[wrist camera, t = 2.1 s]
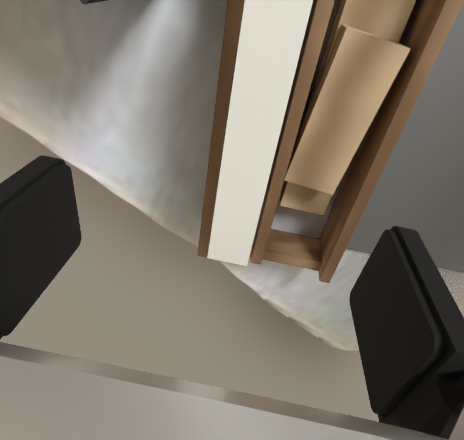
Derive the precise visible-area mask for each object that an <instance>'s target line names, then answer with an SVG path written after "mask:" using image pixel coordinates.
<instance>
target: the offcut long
mask: <svg viewBox="0 0 464 440" xmlns="http://www.w3.org/2000/svg"><path fill="white" fill-rule="evenodd" d="M415 2H416V0H341V3H340V6H339V9H338V12H337V16H336V19H335V22H334V25H333V28H332V31H331V35H330V38H329V41H328V44H327V47H326V51H325V54H324V57H323V60H322V63H321V66H320V70H319V73H318V76H317V79H316V82H315V85H314V89H313V92H312V95H311V98H310V101H309V105H310V103H311V100H312V98H313V95H314V93H315V90H316V88H317V85H318V83H319V80H320V78H321V75H322V73H323V70H324V68H325V65H326V63H327V60H328V58H329V55H330V53H331V50H332V48H333V45H334V43H335V40H336V38H337V36H338V33H339V31H340V28H341V26H342V24H343V25H346V26H349V27H352V28H355V29H358V30H361V31H365V32H368V33H371V34H374V35H377V36H380V37H383V38H386V39H389V40H392V41H395V42H399V39H400V37H401V35H402V32H403V30H404V28H405V25H406V23H407V21H408V18H409V16H410V14H411V11H412V9H413V7H414V4H415ZM309 105H308V108H309ZM308 108H307V110H308ZM306 113H307V111H306ZM305 115H306V114H305ZM304 118H305V117H304ZM331 197H332V195H331V194H328V193H325V192H321V191H318V190H315V189H311V188H308V187H305V186H302V185H298V184H295V183H292V182H288V181H284V184H283V187H282V190H281V197H280V206H284V207H288V208H293V209H297V210H302V211H306V212H310V213H315V214H319V215H324V214H325V211H326V209H327V207H328V204H329V202H330V200H331Z"/></svg>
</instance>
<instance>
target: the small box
mask: <svg viewBox="0 0 464 440" xmlns="http://www.w3.org/2000/svg"><path fill="white" fill-rule="evenodd" d="M80 1H81V2H82V3H83V4H88V3H94V2H100V1H107V0H80Z"/></svg>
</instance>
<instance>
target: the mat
mask: <svg viewBox="0 0 464 440" xmlns="http://www.w3.org/2000/svg"><path fill="white" fill-rule="evenodd" d="M393 226H399V227H404V228H409V229H414V230H416V231H417V232H418V234H419V235H420V237H421V239H422V241H423V243H424V245H425V247H426V249H427V250H428V252H429V254H430V256H431V258H432V260H433V262H434V263H435V265H436V267H439V268H444V269H449V270H454V271H459V272H464V2H463V5H462V7H461V9H460V11H459V13H458V15H457V17H456V19H455V21H454V23H453V25H452V28H451V30H450V32H449V34H448V36H447V38H446V40H445V42H444V44H443V46H442V48H441V50H440V53H439V55H438V57H437V59H436V61H435V63H434V65H433V67H432V69H431V71H430V73H429V76H428V78H427V80H426V82H425V84H424V86H423V88H422V90H421V92H420V94H419V96H418V98H417V101H416V103H415V105H414V107H413V109H412V111H411V113H410V115H409V117H408V119H407V121H406V124H405V126H404V128H403V130H402V132H401V134H400V136H399V138H398V140H397V142H396V144H395V147H394V149H393V151H392V153H391V155H390V157H389V159H388V161H387V163H386V165H385V167H384V169H383V172H382V174H381V176H380V178H379V180H378V182H377V184H376V186H375V188H374V190H373V192H372V195H371V197H370V199H369V201H368V203H367V205H366V207H365V209H364V211H363V213H362V215H361V217H360V220H359V222H358V224H357V226H356V228H355V230H354V232H353V234H352V236H351V238H350V240H349V243H348V245H347V247H346V248H347V249H352V250H357V251H362V252H367V253H372V252H373V250H374V248H375V246H376V244H377V243H378V241H379V239H380V237H381V235H382V233H383V232H384V231H385V230H387V229H388V230H390V229H391V228H392V227H393Z"/></svg>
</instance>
